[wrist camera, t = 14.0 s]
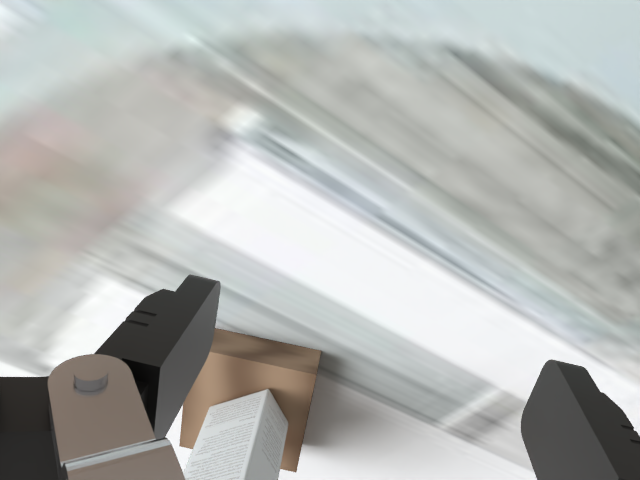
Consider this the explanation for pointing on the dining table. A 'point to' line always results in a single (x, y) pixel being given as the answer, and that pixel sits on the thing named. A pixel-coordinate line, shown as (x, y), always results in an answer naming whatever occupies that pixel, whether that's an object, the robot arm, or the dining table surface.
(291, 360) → the walnut block
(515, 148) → the dining table surface
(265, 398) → the skincare box
